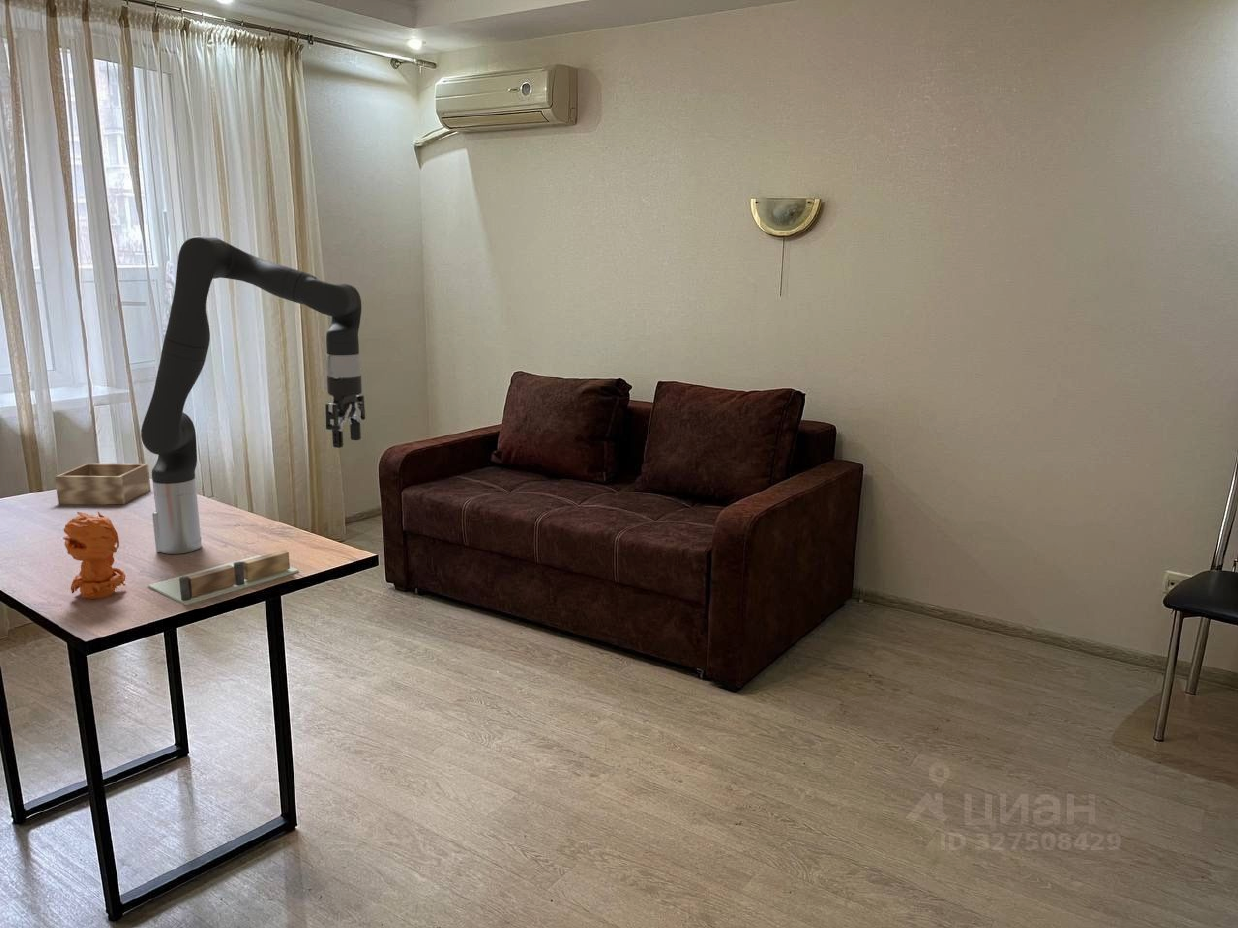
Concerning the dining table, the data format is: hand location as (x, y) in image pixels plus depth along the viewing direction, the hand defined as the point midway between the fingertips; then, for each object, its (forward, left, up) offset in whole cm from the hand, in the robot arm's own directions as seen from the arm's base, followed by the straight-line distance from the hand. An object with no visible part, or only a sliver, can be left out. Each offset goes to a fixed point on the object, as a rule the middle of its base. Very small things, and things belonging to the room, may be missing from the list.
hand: (347, 443), depth 214 cm
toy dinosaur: (-47, -26, -27) cm, 60 cm away
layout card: (-24, -17, -27) cm, 40 cm away
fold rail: (-15, -16, -26) cm, 34 cm away
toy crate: (-85, +50, -27) cm, 102 cm away
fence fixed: (-23, -25, -27) cm, 43 cm away
